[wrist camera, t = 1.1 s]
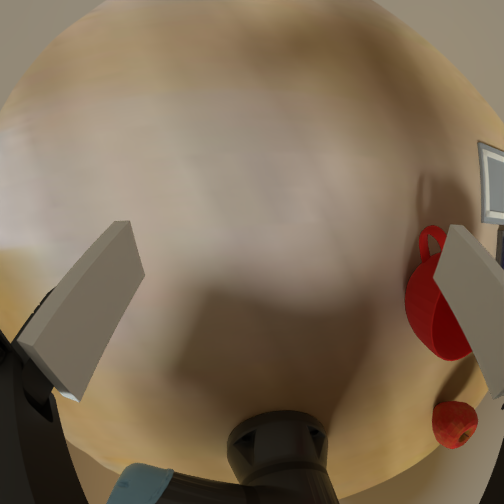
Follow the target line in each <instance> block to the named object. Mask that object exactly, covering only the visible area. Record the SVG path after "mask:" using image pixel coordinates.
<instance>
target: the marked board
mask: <svg viewBox="0 0 504 504" xmlns="http://www.w3.org/2000/svg"><path fill="white" fill-rule="evenodd" d="M478 151H479V162H480V175H481V205H482V210H481V223H490V224H500V225H504V152H502V151H500V150H498V149H495V148H493V147H490V146H488V145H485V144H483V143H480V142H479V143H478Z"/></svg>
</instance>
